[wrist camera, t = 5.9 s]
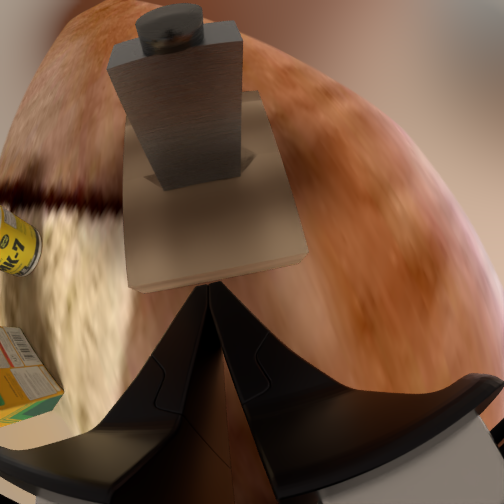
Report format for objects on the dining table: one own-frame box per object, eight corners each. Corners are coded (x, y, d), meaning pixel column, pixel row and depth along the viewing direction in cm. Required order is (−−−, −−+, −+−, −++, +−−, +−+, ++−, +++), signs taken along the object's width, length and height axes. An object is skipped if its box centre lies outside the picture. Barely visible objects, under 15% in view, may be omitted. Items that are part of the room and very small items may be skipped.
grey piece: (241, 178, 17) (245, 16, 6) (164, 193, 17) (95, 48, 6) (234, 149, 18) (233, -4, 7) (162, 163, 17) (107, 22, 7)
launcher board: (298, 263, 19) (308, 252, 16) (144, 293, 18) (128, 287, 15) (256, 113, 23) (257, 90, 20) (136, 136, 22) (126, 115, 19)
